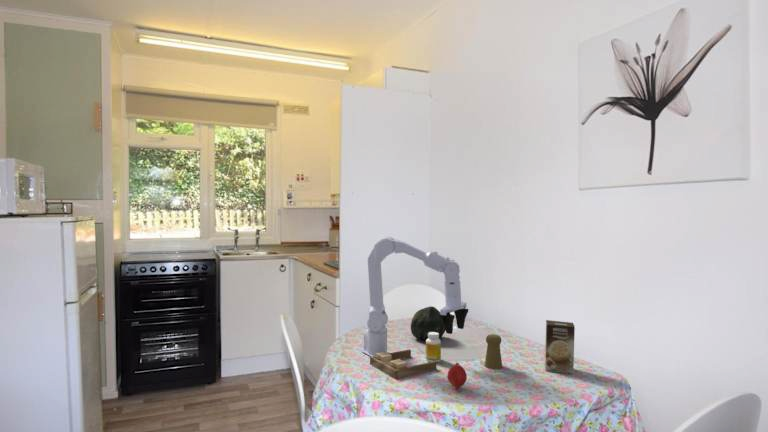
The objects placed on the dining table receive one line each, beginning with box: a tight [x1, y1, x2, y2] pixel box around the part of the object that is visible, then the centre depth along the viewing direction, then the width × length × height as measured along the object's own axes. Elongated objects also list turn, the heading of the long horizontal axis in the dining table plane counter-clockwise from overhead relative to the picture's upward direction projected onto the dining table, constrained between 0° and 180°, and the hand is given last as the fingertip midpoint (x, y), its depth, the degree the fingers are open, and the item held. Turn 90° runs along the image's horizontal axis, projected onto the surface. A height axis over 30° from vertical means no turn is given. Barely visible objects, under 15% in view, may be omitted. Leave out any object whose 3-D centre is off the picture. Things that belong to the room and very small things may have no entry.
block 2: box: [390, 359, 408, 370], centre depth 147 cm, size 4×4×4 cm
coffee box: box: [544, 319, 576, 375], centre depth 152 cm, size 9×6×16 cm
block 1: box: [376, 352, 392, 366], centre depth 155 cm, size 4×4×4 cm
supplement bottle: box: [425, 332, 442, 363], centre depth 161 cm, size 5×5×10 cm
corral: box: [369, 349, 438, 380], centre depth 154 cm, size 16×17×2 cm
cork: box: [484, 333, 503, 370], centre depth 155 cm, size 6×6×11 cm
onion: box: [446, 362, 468, 389], centre depth 135 cm, size 6×6×8 cm
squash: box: [410, 305, 446, 341], centre depth 187 cm, size 14×15×15 cm
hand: (455, 330), depth 162 cm, fingers open, 7 cm apart
